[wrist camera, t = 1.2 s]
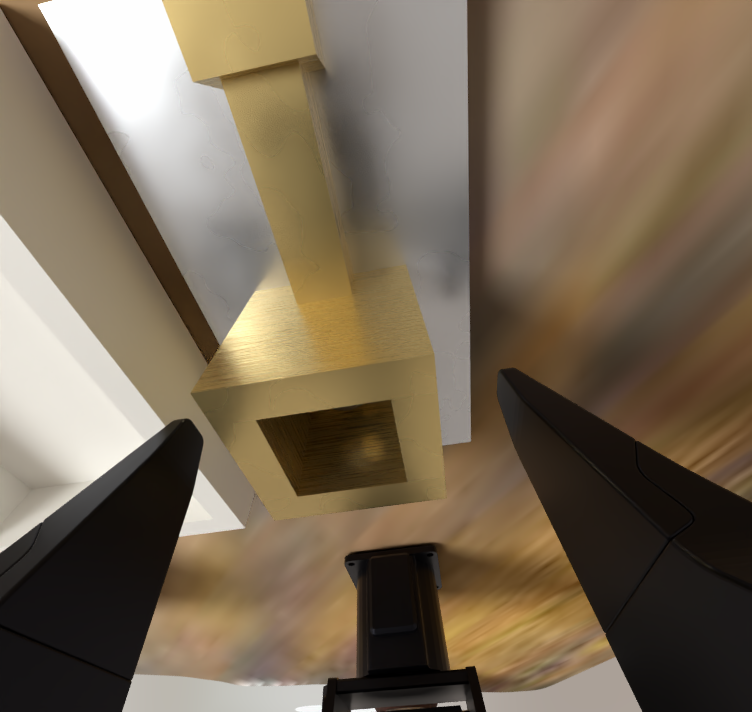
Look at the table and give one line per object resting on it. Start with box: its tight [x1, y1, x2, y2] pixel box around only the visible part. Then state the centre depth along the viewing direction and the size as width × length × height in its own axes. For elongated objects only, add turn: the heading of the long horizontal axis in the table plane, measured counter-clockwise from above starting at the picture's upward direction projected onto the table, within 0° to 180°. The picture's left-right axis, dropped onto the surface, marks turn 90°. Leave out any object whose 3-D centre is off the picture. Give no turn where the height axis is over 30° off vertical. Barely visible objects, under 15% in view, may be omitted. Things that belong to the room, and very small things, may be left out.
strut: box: [162, 0, 447, 521], centre depth 8 cm, size 12×5×5 cm, turn 10°
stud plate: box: [39, 0, 471, 446], centre depth 10 cm, size 16×9×4 cm, turn 10°
